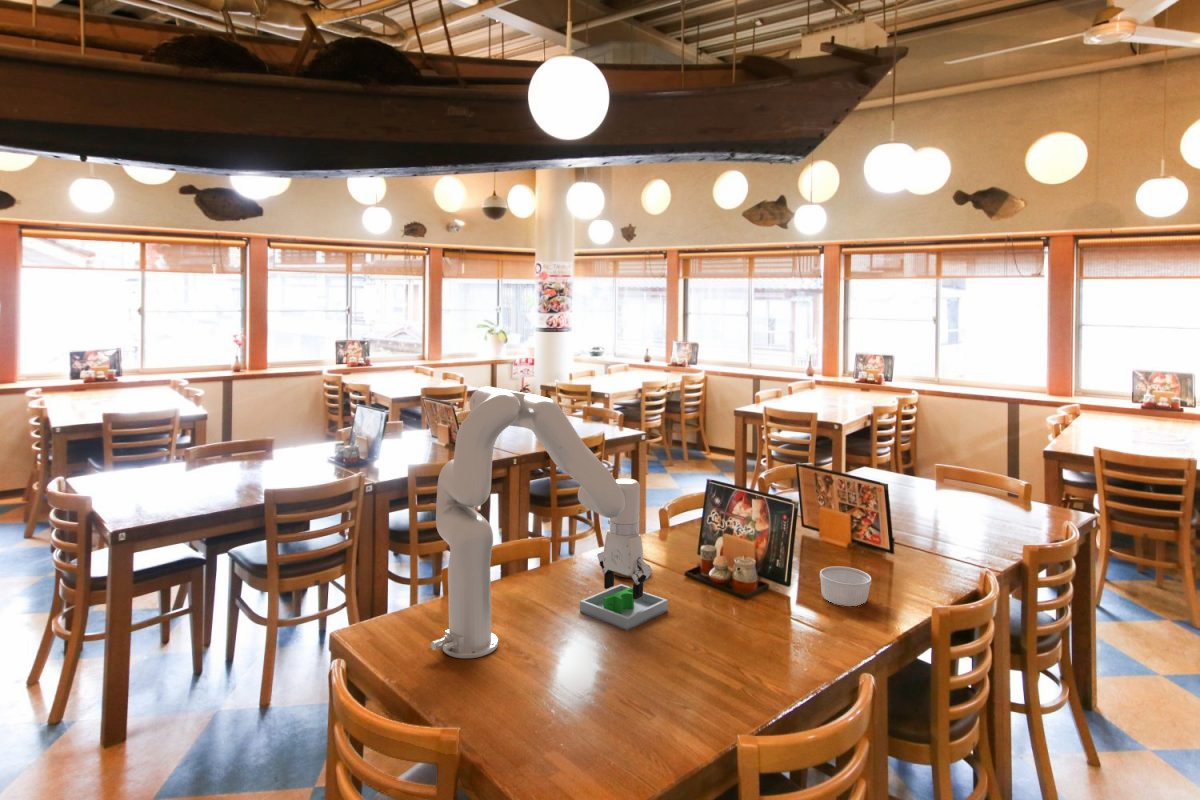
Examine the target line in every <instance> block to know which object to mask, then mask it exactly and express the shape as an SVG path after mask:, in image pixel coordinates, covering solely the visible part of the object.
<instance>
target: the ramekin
mask: <svg viewBox="0 0 1200 800" xmlns="http://www.w3.org/2000/svg"><path fill="white" fill-rule="evenodd" d="M819 578H820V590H821V596H822V597H823V599H824V600H825V599H826V600H828V601H829V603H830V602H832V603H834V604H833V605H835V604H838V605H845V606H857V605H861V604H863V603H864V604H866V602H867V601H868V598H869V593H870V588H871V585H872V577H871V575H870V574H869V573H867V572H865V571H863V570H860V569H857V568H855V567H854V568H853V567H848V566H835V565H834V566H828V567H824V568H822V569H821V570H820V571H819ZM826 600H825V601H826ZM828 601H827V602H828ZM832 603H831V604H832ZM864 604H863V605H864ZM838 605H837V606H838ZM861 606H862V605H861Z"/></svg>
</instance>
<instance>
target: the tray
mask: <svg viewBox="0 0 1200 800" xmlns="http://www.w3.org/2000/svg"><path fill="white" fill-rule="evenodd" d="M630 587H631V586H628V585H625V584H622V583H620V584H617V585H614V586H613V587H610V588H608V589H604V590H603V591H601V592H598V593H596V594H593V595H590V596H588V597H586V598H584V599H581V600H580V601H579V612H580V613H581V614H584V615H587V616H588V617H591V618H594V619H597V620H599V621H601V622H604V623H606V624H610V625H611V626H615V627H617V628H619V629H622V630H624V631H627V632H628V631H630V630H632V629H634V628H636V627H639V626H641V625H642V624H644V623H646V622H649V621H650V620H652V619H654V618H656V617H658V616H661V615H663V614H665V613H666V612H668V609H669V608H668V606H669V600H668V599H666V598H664V597H660V596H657V595H655V594H651V593H648V592H645V591H643V596H642V597H640V598H638V599H634V609H632V610H631V609H623V614H618V613H616V612H613V611H610V610H607V609H605V608H603V604H604V598H605V597H607V596H610V595H612V594H615V593H617V592H620V591H622V590H625V589H627V588H630Z"/></svg>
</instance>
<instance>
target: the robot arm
mask: <svg viewBox="0 0 1200 800" xmlns="http://www.w3.org/2000/svg"><path fill="white" fill-rule="evenodd" d="M468 406H469V411H470V412H469V413H468V415H466V417H465V418H464V419H463V421H462V422H461V424H460V425H459V427H458V431H457V434H456V437H455V445H454V453H453V458H452V459H451V460H449V461H448V462H446V463H445V464H444V465H443V467H442V468H441V470H440V472H439V475H438V479H437V486H436V487H437V491H436V505H435V506H436V507H435V509H436V510H435V511H436V512H435V526H436V527H435V528H436V530H437V533H438V534H439V536H440V537H441V538H442V540H444V542H445V543H447V545H448V546H449V558H448V564H447V590H448V592H447V595H448V597H447V598H448V629H446V630H445V631H444V635H443V636H442V637H441V638H439V639H435V640H433V641H432V642H430V648H431V650H433V651H437V650H439V649H441V648H442V651H443V652H444V653H445V654H446V655H448V656H450V657H453V658H456V659H457V658H458V659H475V658H480V657H484V656H486V655H489V654H491V653H493V652H494V651H495V650H496V649H497V648H498V646H499V637H498V636H497V635H496V634H494V633H493V632H492V594H491V591H492V588H491V586H492V582H491V564H492V563H491V561H492V559H491V558H492V551H493V545H494V533H493V528H492V526H491V524H490V523H489V521H488V520H487V519H486V518H485V517H484V516H483V515H482V514H480V513H479V512H478V511H477V510H476V508H477V507H480V506H482V505H483V504H485V503H486V502H487V500H488V499H489V497H490V495H491V490H492V474H493V473H492V472H493V470H492V469H493V456H494V450H495V449H494V447H495V443H496V441H497V439H498V438H499V436H500V434H501V433H502V432H503V431H505V429H508V427H509V426H510V427H518V428H525V429H528V430H531V431H532V432H533V434H534V435H535V437H536V438H537V440H538V441H539V442H540V444H541V445H542V447H543V448H544V450H545V452H546V453H547V454H548V456H549V457H550V459H551V460H552V461H553V463H554V464H555V465H556V466H557V467H558V468H559V469H560V470H561V471H562V472H564V473H565V474H566V475H567V476H569V477H570V478H572V480H574V481H575V482H576V483H578V484H579V488H578V490H577V499H578V502H579V503H580V504H581V505H582V506H583V507H584V508H586V509H588V510H590V511H592V512H594V513H596V514H598V515H600V516H602V517H604V518H606V519H607V518H609V519H608V520H607V524H608V525H609V529H608V530H607V531H606V535H605V540H604V544H603V545H604V546H603V551H601V552H599V553H597V558H598V562H599V566H600V567H601V569H602V570H601V571H602V574H604V577H603V582H604V583H603V588H604V590H607V589H610V588H612V587H615V574H614V572H617V573H620V574H623V575H626V576H632V578H631V579H632V580H633V581H634V583H633V584H632V588H633V599H638V598H640V597H642V596H643V592H644V583H645V582H646V581H647V580H648V579H649V577H650V575H651V574H652V572H653V570H652V568H650V567H651V566H650V565H649V564H648V563H646V562H645V561H644V549H643V541H642V534H641V533H640V517H641V516H640V513H641V510H640V509H641V485H640V482H639V481H637V480H636V479H633V478H628V477H626V478H625V477H623V478H617V479H616V478H615V477H614V476H613V474H612V473H611V471H609V469H608V468H607V467H606V465H605V464H604V463H602V462H601V460H600V459H599V458H598V457H597V456H596V455H595V453H594V452H593V451H592V450H591V449H590V448H589V447H588V446H587V445H586V444H585V443H584V441H583V440H582V438H581V437H580V435H579V434H578V432H577V431H576V429H575V428H574V426H573V425H572V423H571V422H570V420H569V419H568V416H567V415H566V414H565V412H564V411H563V410H562V407H561V406H560V405H559V404H558V403H557V402H556V401H555V400H554V399H553V398H552V399H551V398H550V397H545V396H541V395H539V394H534V393H533V394H532V393H526V392H518V391H514V390H508V389H504V388H499V387H495V386H489V385H487V386H483V387H479V388H478V389H476V390H475V391H474V392H473V393H472V394H471V396H470V399H469V403H468ZM647 564H648V565H649V566H650V567H649V566H648V565H647ZM642 569H643V571H644V573H643V574H642ZM636 574H638V576H639V577H637V575H636Z"/></svg>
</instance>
